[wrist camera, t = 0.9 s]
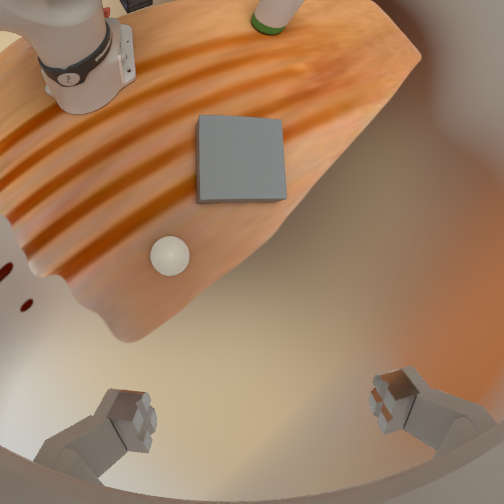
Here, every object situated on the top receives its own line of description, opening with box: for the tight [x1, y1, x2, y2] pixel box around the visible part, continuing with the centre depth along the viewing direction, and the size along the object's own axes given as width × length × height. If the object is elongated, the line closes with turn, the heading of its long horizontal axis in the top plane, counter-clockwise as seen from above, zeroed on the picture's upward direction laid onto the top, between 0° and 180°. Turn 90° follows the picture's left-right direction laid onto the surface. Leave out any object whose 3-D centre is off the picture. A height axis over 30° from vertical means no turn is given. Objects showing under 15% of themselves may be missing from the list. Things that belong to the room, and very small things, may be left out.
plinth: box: [196, 115, 287, 204], centre depth 47 cm, size 14×14×5 cm
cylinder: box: [150, 236, 189, 276], centre depth 43 cm, size 6×6×8 cm
